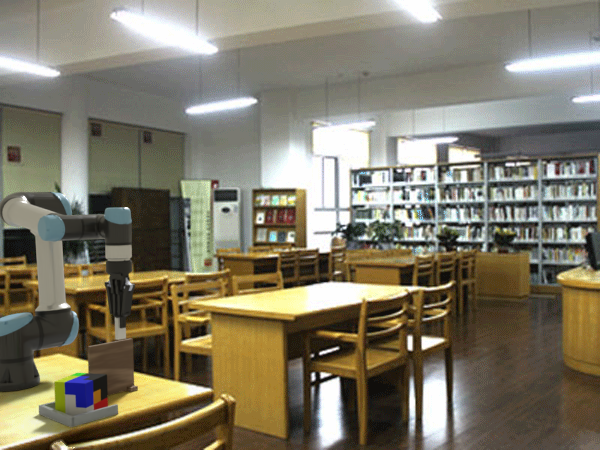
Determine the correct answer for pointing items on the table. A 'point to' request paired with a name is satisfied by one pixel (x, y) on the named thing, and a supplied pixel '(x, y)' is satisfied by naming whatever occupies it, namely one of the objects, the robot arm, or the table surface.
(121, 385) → the screen
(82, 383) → the puzzle toy
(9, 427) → the table surface
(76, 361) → the table surface
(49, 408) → the corral
